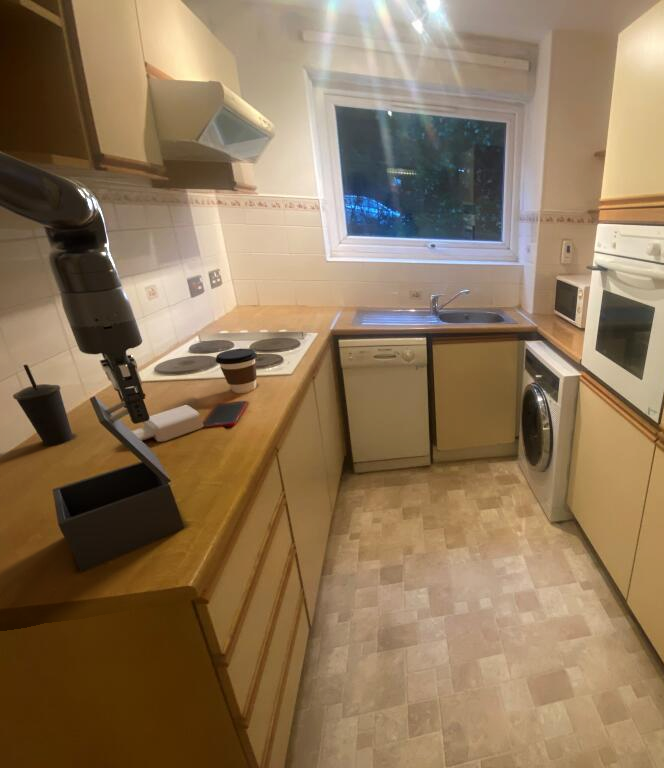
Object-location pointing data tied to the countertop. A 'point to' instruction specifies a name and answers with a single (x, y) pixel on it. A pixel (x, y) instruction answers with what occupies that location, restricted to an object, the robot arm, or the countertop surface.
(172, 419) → the charger
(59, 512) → the open grey storage box
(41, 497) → the countertop surface
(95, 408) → the lid
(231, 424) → the cell phone
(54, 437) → the drinking cup
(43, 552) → the countertop surface
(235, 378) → the coffee cup
